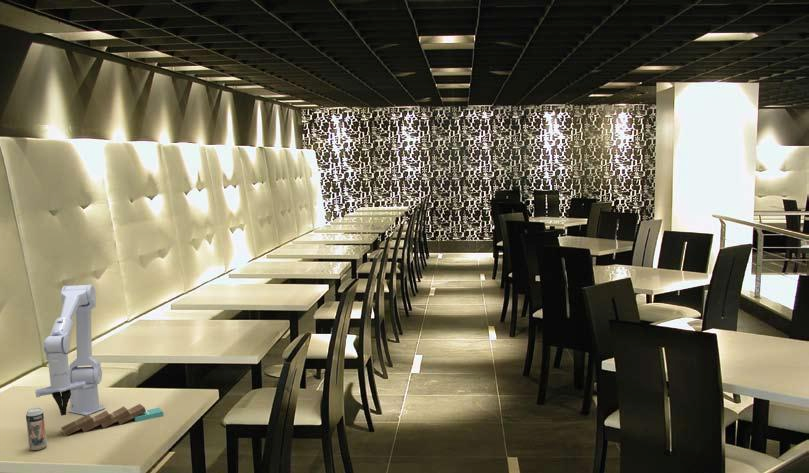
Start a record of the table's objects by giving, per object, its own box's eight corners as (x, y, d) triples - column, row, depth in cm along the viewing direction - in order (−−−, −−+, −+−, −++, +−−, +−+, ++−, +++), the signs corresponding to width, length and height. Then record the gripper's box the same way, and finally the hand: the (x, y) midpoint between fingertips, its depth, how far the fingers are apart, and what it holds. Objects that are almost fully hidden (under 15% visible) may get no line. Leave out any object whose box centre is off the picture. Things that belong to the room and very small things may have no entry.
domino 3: (101, 424, 252) (127, 409, 257) (97, 420, 256) (123, 406, 261) (103, 428, 253) (129, 414, 257) (99, 424, 257) (125, 410, 261)
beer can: (29, 452, 235) (25, 414, 233) (29, 447, 239) (25, 409, 237) (47, 449, 237) (43, 410, 235) (46, 444, 241) (42, 406, 240)
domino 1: (63, 432, 247) (91, 418, 251) (61, 427, 251) (88, 413, 255) (65, 436, 247) (93, 422, 251) (63, 431, 251) (90, 418, 256)
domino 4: (118, 420, 255) (144, 407, 260) (114, 416, 259) (139, 403, 264) (120, 424, 256) (146, 411, 260) (115, 420, 260) (141, 408, 264)
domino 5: (135, 417, 258) (163, 411, 262) (131, 413, 262) (159, 407, 267) (135, 422, 258) (163, 416, 263) (132, 418, 262) (159, 412, 267)
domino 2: (81, 428, 249) (109, 414, 254) (79, 423, 254) (106, 410, 258) (83, 432, 250) (111, 418, 254) (81, 428, 254) (108, 414, 258)
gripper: (35, 380, 240) (39, 422, 242) (85, 371, 247) (89, 413, 249) (33, 374, 246) (37, 416, 248) (82, 366, 253) (86, 407, 255)
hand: (63, 414), depth 249 cm, fingers closed
